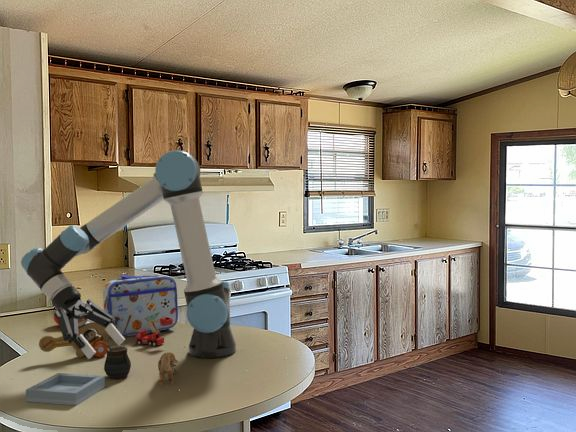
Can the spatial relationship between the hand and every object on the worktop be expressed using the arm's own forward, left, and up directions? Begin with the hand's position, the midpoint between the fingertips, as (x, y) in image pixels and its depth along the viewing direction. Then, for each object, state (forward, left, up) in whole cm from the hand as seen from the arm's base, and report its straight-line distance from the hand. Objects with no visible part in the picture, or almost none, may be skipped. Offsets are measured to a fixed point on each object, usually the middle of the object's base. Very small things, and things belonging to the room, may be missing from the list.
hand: (107, 348), depth 157 cm
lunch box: (+15, -48, -8) cm, 50 cm away
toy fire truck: (+2, -33, -8) cm, 34 cm away
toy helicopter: (+19, -15, -8) cm, 26 cm away
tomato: (+47, -53, -8) cm, 72 cm away
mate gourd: (-3, 0, -8) cm, 9 cm away
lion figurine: (-18, 0, -8) cm, 20 cm away
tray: (+3, +15, -8) cm, 17 cm away
